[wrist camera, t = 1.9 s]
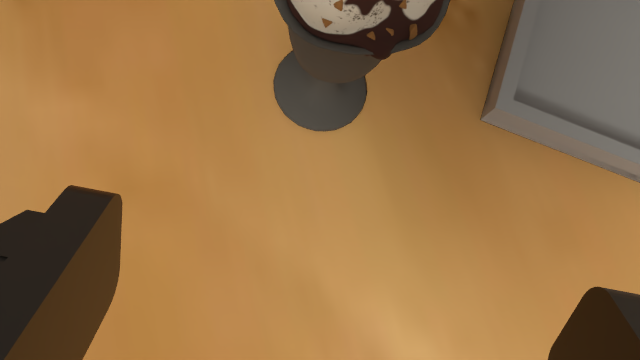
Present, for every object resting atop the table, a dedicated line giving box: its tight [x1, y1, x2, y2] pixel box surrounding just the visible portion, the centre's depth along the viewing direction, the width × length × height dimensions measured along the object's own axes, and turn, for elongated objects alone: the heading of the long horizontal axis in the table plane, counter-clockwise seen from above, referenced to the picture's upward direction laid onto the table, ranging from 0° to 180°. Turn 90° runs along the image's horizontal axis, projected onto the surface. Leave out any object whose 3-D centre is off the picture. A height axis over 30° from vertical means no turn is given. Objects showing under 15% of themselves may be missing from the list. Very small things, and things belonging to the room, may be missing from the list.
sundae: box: [274, 0, 450, 131], centre depth 21 cm, size 7×7×15 cm
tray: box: [480, 0, 640, 182], centre depth 30 cm, size 13×13×2 cm
